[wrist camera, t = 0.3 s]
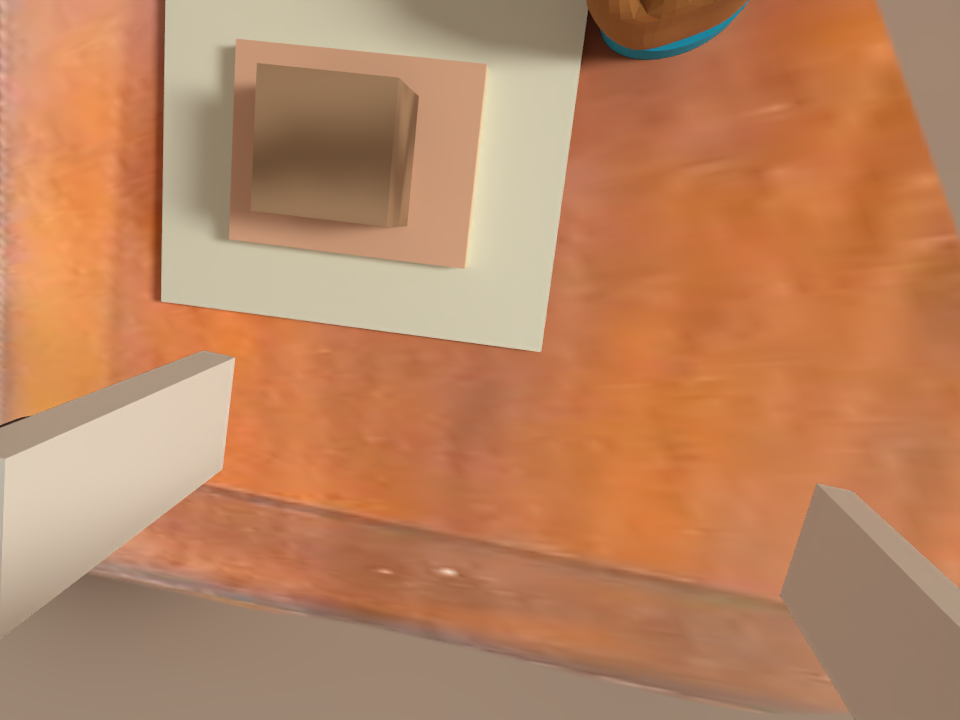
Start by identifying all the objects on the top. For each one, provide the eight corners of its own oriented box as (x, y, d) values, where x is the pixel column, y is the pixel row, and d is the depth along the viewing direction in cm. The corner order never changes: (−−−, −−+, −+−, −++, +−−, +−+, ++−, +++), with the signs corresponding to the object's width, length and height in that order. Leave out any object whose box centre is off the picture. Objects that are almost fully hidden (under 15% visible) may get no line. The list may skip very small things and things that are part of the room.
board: (175, -42, 39) (150, -59, 37) (589, -4, 37) (592, -20, 35) (169, 299, 44) (147, 304, 41) (541, 348, 42) (540, 356, 39)
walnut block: (295, 83, 38) (256, 62, 33) (418, 96, 37) (398, 77, 32) (288, 211, 39) (250, 210, 34) (407, 226, 38) (386, 226, 34)
